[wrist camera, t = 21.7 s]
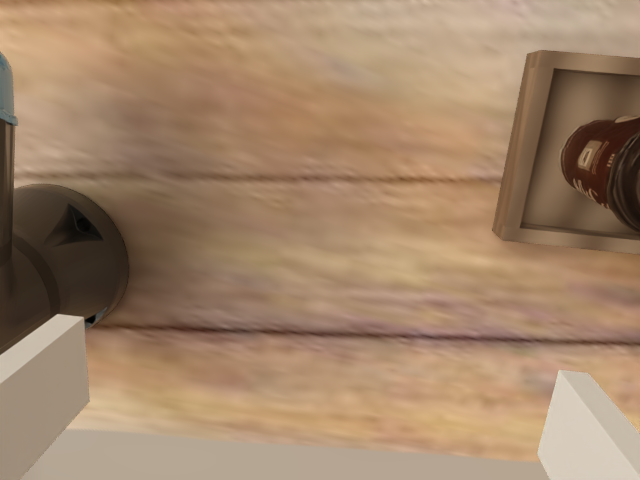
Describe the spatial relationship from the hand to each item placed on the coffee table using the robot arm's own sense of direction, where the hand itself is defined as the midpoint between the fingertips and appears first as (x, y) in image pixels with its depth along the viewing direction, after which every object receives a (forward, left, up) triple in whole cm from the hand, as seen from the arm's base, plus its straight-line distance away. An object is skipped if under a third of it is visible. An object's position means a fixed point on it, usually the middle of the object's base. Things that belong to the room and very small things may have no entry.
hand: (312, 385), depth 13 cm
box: (+21, +5, -32) cm, 38 cm away
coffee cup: (+21, +5, -31) cm, 38 cm away
